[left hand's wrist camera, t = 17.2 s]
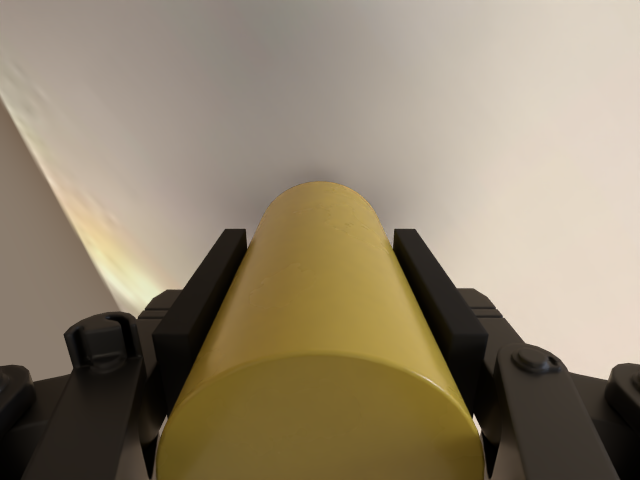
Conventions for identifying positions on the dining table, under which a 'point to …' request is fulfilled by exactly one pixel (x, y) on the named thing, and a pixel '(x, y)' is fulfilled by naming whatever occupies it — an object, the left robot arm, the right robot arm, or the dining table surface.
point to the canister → (320, 362)
